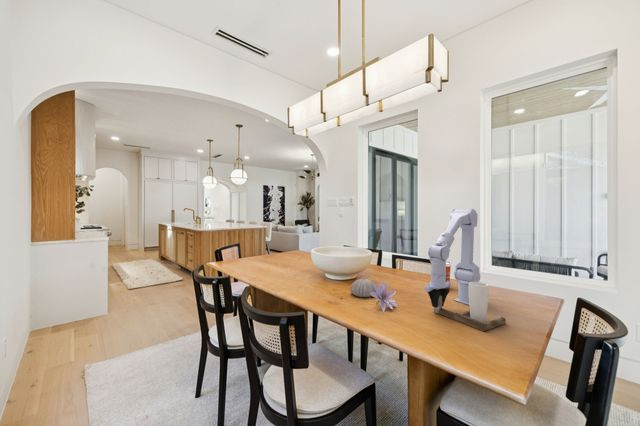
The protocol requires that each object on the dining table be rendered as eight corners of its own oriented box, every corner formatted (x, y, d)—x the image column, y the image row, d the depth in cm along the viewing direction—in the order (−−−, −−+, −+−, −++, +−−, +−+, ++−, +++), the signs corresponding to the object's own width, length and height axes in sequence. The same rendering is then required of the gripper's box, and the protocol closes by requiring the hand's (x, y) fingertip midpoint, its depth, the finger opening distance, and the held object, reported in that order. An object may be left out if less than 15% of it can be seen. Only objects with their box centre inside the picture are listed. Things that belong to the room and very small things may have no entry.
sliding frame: (454, 305, 122) (454, 290, 122) (506, 323, 103) (506, 305, 103) (431, 311, 115) (432, 295, 115) (483, 332, 96) (483, 312, 96)
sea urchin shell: (355, 299, 130) (356, 283, 130) (346, 291, 143) (346, 276, 143) (381, 298, 133) (381, 281, 133) (369, 289, 146) (370, 275, 146)
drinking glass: (491, 327, 101) (492, 286, 100) (471, 325, 102) (472, 285, 102) (484, 319, 107) (484, 282, 107) (465, 318, 109) (466, 281, 108)
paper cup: (444, 290, 146) (445, 264, 146) (432, 286, 153) (433, 262, 152) (454, 288, 149) (454, 263, 149) (442, 285, 156) (442, 260, 156)
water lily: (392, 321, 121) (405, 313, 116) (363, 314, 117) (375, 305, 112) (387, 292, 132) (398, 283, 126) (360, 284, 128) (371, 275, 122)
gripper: (441, 270, 121) (441, 300, 121) (418, 273, 114) (418, 305, 114) (456, 273, 115) (455, 305, 115) (432, 277, 108) (432, 311, 108)
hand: (437, 306), depth 114 cm, fingers closed on sliding frame, 3 cm apart
